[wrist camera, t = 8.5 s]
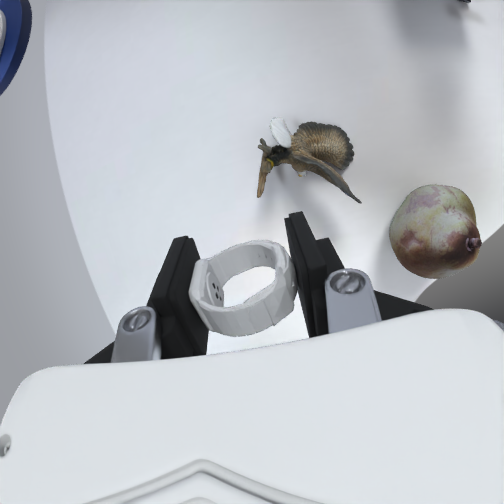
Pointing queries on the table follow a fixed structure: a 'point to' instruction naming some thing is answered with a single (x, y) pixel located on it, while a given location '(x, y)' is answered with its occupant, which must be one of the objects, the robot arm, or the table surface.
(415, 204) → the fruit
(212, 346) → the table surface
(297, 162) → the eagle figurine
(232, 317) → the smartwatch
